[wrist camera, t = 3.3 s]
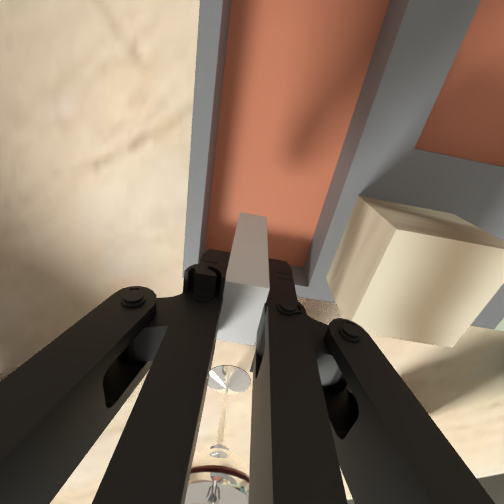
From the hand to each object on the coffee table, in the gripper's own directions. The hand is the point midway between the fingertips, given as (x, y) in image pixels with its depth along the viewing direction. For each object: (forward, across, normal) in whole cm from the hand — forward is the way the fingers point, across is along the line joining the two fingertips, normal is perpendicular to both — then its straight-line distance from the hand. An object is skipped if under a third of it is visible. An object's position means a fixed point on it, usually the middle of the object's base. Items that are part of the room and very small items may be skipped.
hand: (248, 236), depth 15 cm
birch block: (+2, -9, 0) cm, 9 cm away
